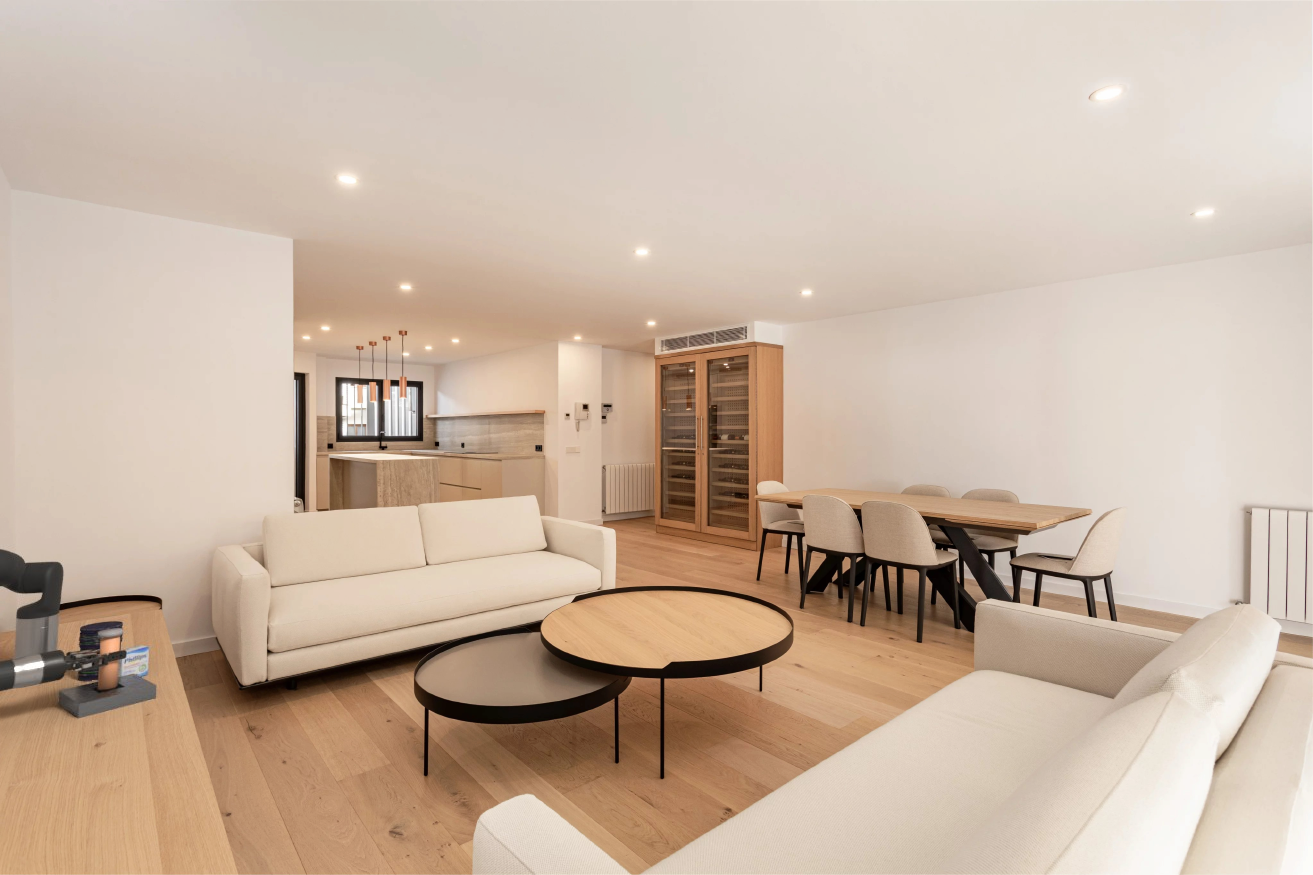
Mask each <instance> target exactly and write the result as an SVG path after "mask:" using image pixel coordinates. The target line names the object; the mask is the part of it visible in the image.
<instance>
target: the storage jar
mask: <svg viewBox="0 0 1313 875" xmlns="http://www.w3.org/2000/svg"><path fill="white" fill-rule="evenodd" d="M123 625H124V622H123V621H118V620H117V621H116V620H113V621H112V620H110V621H100V622H94V623H90V624H85V625H83V626H81V627H80V628H79V637H78V641H79V642H78V647H79V651H82V650H90V649H96V650H98V649H100V640H101V638H98V632H99V631H102V630H106V629H114V628H122V629H123V630H124V628H123ZM123 635H124V633H123V634H122V635H120V651H121V650H122V648H121V647H122V642H123ZM77 675H78V676H77V681H79V682H93V681H92V680H97V681H98V676H99V667H98V668H94V669H91V670H87V671H81V670H79V671H77Z"/></svg>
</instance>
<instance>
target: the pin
mask: <svg viewBox="0 0 1313 875" xmlns="http://www.w3.org/2000/svg"><path fill="white" fill-rule="evenodd" d="M122 634H123V635H124V628H123V629H122V628H114V629H106V630H102V631H99V632H98V638H101V640H100V654H104V653H111V652H116V651H119V649H120V635H122ZM123 635H122V636H123ZM100 661H102V659H100V660H99V662H100ZM118 668H119V660H115V661H110V662H109V663H108V665H105V666H101V667H99V676H98V680H97V682H98V689H99V690H105V689H111V688H114V687H117V686H118Z"/></svg>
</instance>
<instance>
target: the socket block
mask: <svg viewBox="0 0 1313 875" xmlns="http://www.w3.org/2000/svg"><path fill="white" fill-rule="evenodd" d="M156 698H157V684H156V683H153V682H152V681H149V680H147V679H145V678H144V677H143V676H142V677H140V676H138V675H136V674H134V673H133V674H129V675H125V676H120V677H118V686H117V687H114V688H111V689H105V690H99V689H98V681H93V682H90V683H85V684H81V685H77V686H73V687H67V688H63V689H61V690H60V689H59V690H58V699H57V700H58V703H57V704H58V705H60V707H62V708H64V710H66V711H68V712H69V713H71V714H72V715H74V716H75V717H76V718H78V719H81V718H85V717H88V716H92V714H93V715H96V714H99V713H103V712H107V711H111V710H116V709H120V708H123V707H126V705H127V706H130V705H135V704H138V703H142V702H147V701H150V700H154V699H156ZM134 703H135V704H134ZM119 707H120V708H119Z"/></svg>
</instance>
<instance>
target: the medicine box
mask: <svg viewBox="0 0 1313 875" xmlns="http://www.w3.org/2000/svg"><path fill="white" fill-rule="evenodd" d="M149 647H150V646H147V645H135V646H132V647H129V648H125V649H123V650H126V651H127V654H126V658H125V659H120V660H119V668H118V677H120V676H125V675H129V674H133V673H134V674H136V675H138V676H140V677H142V678H143V677H145V676H148V674H149V659H150V658H149V652H150V648H149Z"/></svg>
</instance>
